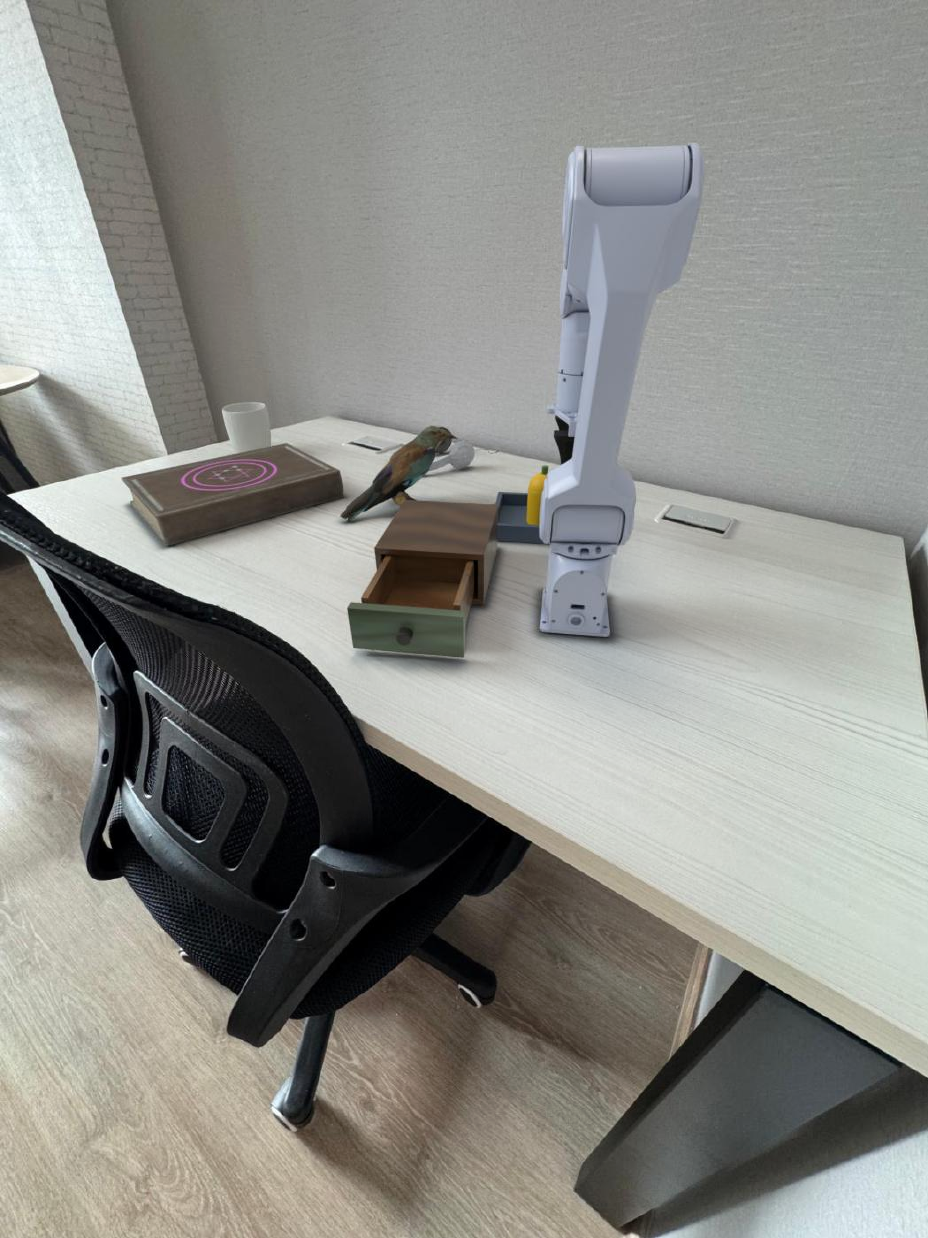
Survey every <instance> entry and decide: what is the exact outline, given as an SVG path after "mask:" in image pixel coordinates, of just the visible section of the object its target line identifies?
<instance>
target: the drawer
mask: <svg viewBox="0 0 928 1238" xmlns="http://www.w3.org/2000/svg"><path fill="white" fill-rule="evenodd" d="M475 589H476V560H468V559H452V558H437V557H421V556H405V555H389V554H386V556H385V558H384V560H383V561H382V563H381V565H380V566H379V568H378V570H377V569H376V572H375V573H374V575H373V576H372V578H371V580H370V582H369V583H368V585H367V587H366V589H365V590H364V592H363V594H362V596H361V597H360V601H361V602H352V601H351V602H350V603H349V604H348V606H347V607H346V610H347V616H348V624H349V628H350V629H349V631H350V637H351V642H352V648H353V649H357V650H370V651H380V652H393V653H403V654H413V655H414V654H415V655H426V656H436V657H437V656H439V657H451V658H458V659H459V658H461V659H464V658H465V656H466V651H467V650H466V625H467V622H468V618H469V614H470V610H471V606H472V605H473V604H472V600H473V596H474V593H475Z"/></svg>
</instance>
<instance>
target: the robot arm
mask: <svg viewBox="0 0 928 1238" xmlns="http://www.w3.org/2000/svg"><path fill="white" fill-rule="evenodd" d="M705 171H706V161H705V155H704V153H703V152H702V149H701V145H699V143H698V142H688V143H687V144H686V145H662V146H661V145H660V146H659V145H655V146H626V147H624V146H623V147H621V146H620V147H586V148H585V146H584V145H576V146H575V147H574V148H573V151H571V153H570V154H569V156H568V159H567V163H566V171H565V181H564V189H563V190H564V192H563V194H564V195H563V203H562V205H563V206H562V224H561V225H562V226H561V227H562V229H561V236H562V239H563V252H562V253H563V257H562V258H563V260H562V261H563V262H562V265H563V268H562V271H561V277H560V278H561V279H560V286H559V313H560V317H562V319H561V329H560V330H561V331H560V343H559V357H558V368H557V369H558V370H557V383H556V384H557V385H556V398H555V404H548V405H546V414H550V415H552V414H553V415H554V420H555V423H556V425H557V427H558V429H554V430H553V438H554V442H555V444H556V446H557V449H558V453H559V458H560V465H558V466H556V467H555V468H554V469H552V470H550V471H548V474H547V478H546V479H545V480H544V489H543V491H542V495H541V506H540V530H539V532H540V539H541V540H542V541H543V543H542V544H544V545H545V544H546V545H547V544H548V545H549V549H548V550H549V551H548V562H547V575H546V587H545V588H543V589H542V595H541V596H542V597H541V606H540V607H541V610H540V622H539V631H540V632H542V633H552V634H564V635H577V636H589V637H603V638H607V637H609V636H610V634H611V629H610V621H609V620H610V619H609V610H608V599H607V594H608V588H609V581H610V575H611V570H612V569H611V568H612V563H613V562H612V561H613V555H617V553H618V548H619V547H623V546H625V545H626V543H627V542H628V541H629V540H630V538H631V536H632V533H633V529H634V522H635V509H636V503H637V490H636V484H635V482H634V479H633V476H632V474H631V473H630V472H629V471H627V470H626V469H625V468H623V467H622V466H621V465H619V464H618V457H619V454H620V449H621V444H622V439H623V434H624V430H625V425H626V419H627V416H628V411H629V406H630V401H631V396H632V393H633V388H634V382H635V378H636V372H637V370H638V369H637V368H638V365H639V359H640V354H641V349H642V346H643V341H644V335H645V332H646V329H647V325H648V323H649V320H650V317H651V314H652V311H653V308H654V305H655V303H656V300H657V297H658V295H660V294H661V293H663V292H664V291H666V290H668V289H670V288H672V287H673V286H674V285H676V284H677V283H679V282H680V281H681V276H682V273H683V269H684V267H685V266H686V264H687V261H688V258H689V254H690V250H691V245H692V241H693V237H694V233H695V229H696V226H697V223H698V222H697V221H698V217H699V213H700V209H701V204H702V199H703V190H704V182H705Z"/></svg>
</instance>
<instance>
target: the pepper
mask: <svg viewBox="0 0 928 1238" xmlns="http://www.w3.org/2000/svg"><path fill="white" fill-rule="evenodd" d="M548 473H549V465H542V466H541V471H540V472H538V473H536V474H534V476H532V477H531V479H530V481H529V483H528V487H527V488H528V489H527V493H528V499H527V518H526V521H527V523H528V524H529V525H540V506H541V495H542V491H543V489H544V480H545V479H546V478H547V474H548Z"/></svg>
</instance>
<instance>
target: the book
mask: <svg viewBox="0 0 928 1238" xmlns="http://www.w3.org/2000/svg"><path fill="white" fill-rule="evenodd" d="M121 480H122V482H123V484H125V486H126V487H127V488H128V489H129V491H130V494H131V498H132V500H130V501H129V503H130V505H131V506H132V507H133V509H134V510H135V511H136V513H138V514H139V515H140V517H141V518H142V519H143V520H144V522H145V523H146V524H147V525H148V526H149V528H150V529H151V530H152V531H153V532H154V533H155V534H156V536H157V537H158V538H159V539H160V540H161V542H162V543H163V544H164V545H165V546H166V547H168V546H172V545H173V546H174V545H176V544H179V543H183V542H187V541H190V540H194V539H197V538H198V539H199V538H201V537H204V536H208V535H212V534H215V533H219V532H223V531H226V530H230V529H233V528H234V529H235V528H237V527H240V526H241V527H242V526H244V525H248V524H251V523H255V522H259V521H262V520H265V519H269V518H273V517H277V516H281V515H283V514H287V513H292V512H294V511H298V510H302V509H305V508H309V507H313V506H316V505H319V504H322V503H327V502H331V501H334V500H337V499H342V498H343V497H344V491H345V490H344V483H343V477H342V474H341V470H340V469H338V468H337V467H335V466H332V465H330V464H329V463H326V462H325V461H322V460H321V459H319V458H317V457H315V456H313V455H311V454H310V453H307V452H305V451H303V450H301V449H300V448H297V447H296V446H294V445H292V444H290V443H288V442H284V443H279V444H275V445H271V446H270V447H265V448H260V449H256V450H251V451H246V452H241V453H231V454H227V455H223V456H218V457H213V458H209V459H204V460H199V461H194V462H190V463H185V464H180V465H175V466H171V467H166V468H160V469H156V470H151V471H147V472H141V473H136V474H133V475H127V476H123V477H121Z"/></svg>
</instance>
